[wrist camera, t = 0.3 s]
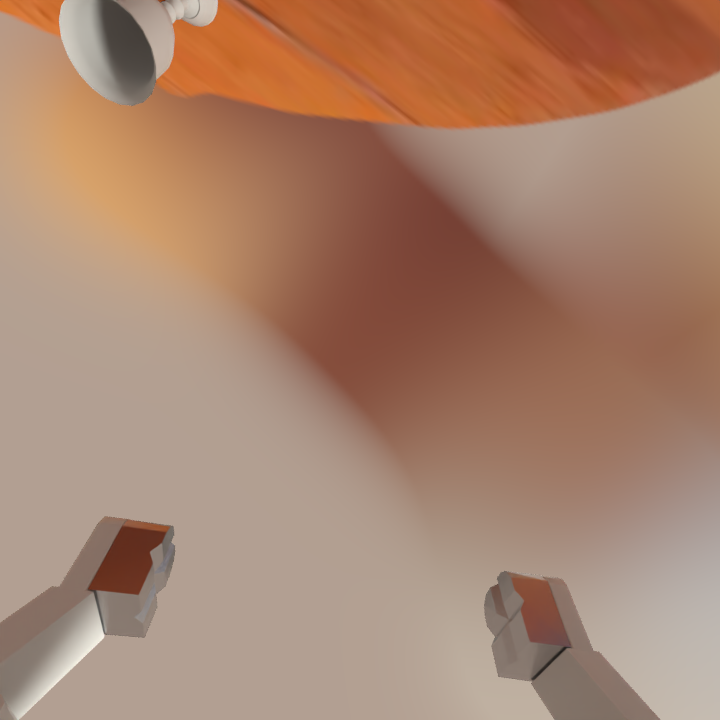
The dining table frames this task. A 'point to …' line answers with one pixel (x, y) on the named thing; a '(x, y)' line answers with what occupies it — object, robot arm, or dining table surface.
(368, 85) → the dining table surface
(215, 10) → the chalice
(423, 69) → the dining table surface
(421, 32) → the dining table surface
